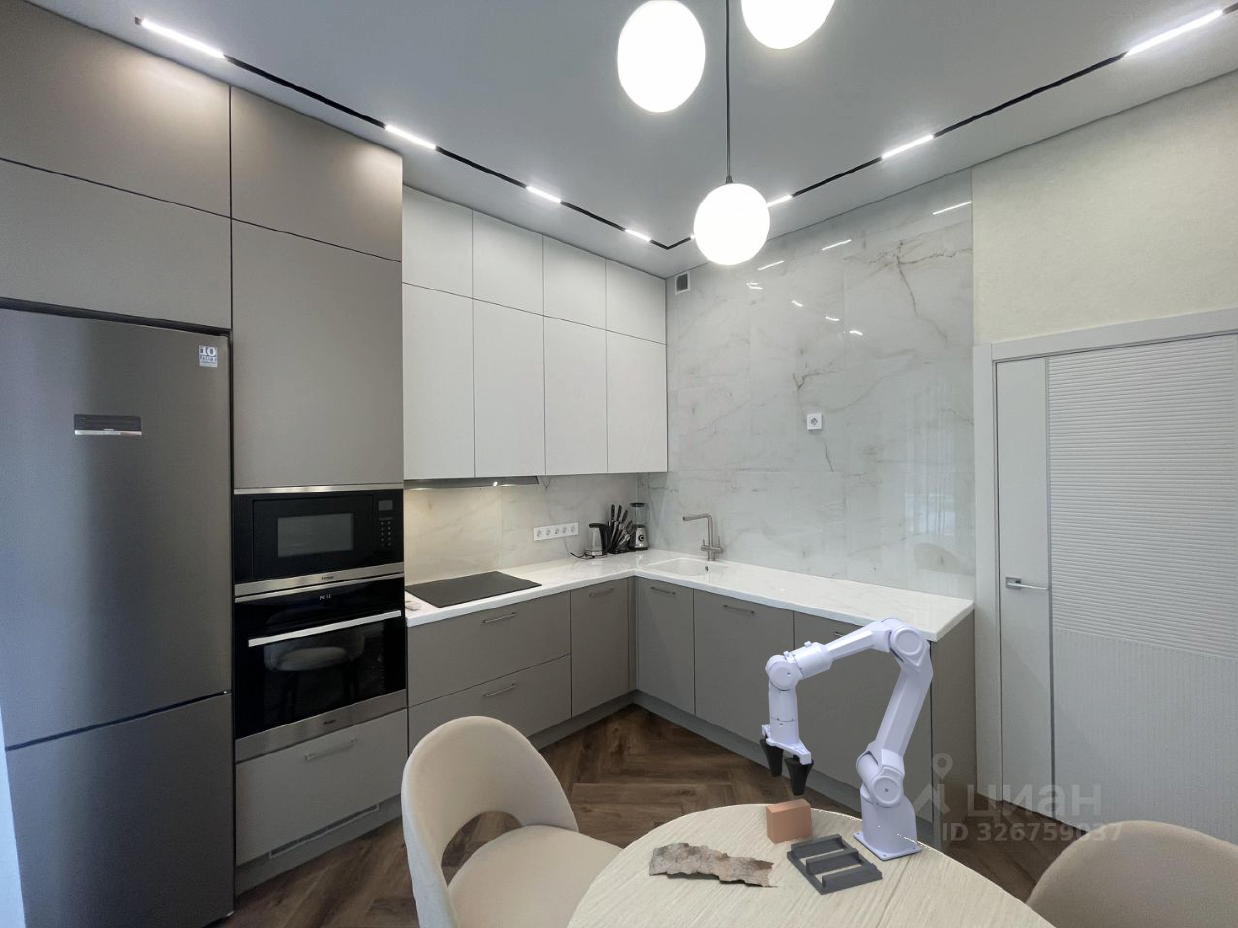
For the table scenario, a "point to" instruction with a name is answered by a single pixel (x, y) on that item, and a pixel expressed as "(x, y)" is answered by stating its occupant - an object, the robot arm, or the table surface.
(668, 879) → the table surface
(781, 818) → the terracotta strip
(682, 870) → the stone fragment
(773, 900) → the table surface
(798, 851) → the drying rack
